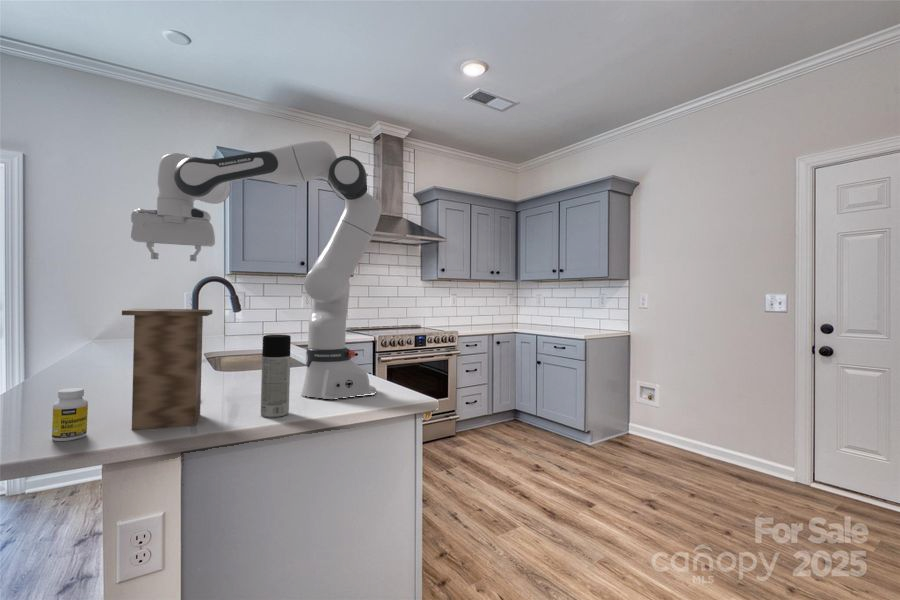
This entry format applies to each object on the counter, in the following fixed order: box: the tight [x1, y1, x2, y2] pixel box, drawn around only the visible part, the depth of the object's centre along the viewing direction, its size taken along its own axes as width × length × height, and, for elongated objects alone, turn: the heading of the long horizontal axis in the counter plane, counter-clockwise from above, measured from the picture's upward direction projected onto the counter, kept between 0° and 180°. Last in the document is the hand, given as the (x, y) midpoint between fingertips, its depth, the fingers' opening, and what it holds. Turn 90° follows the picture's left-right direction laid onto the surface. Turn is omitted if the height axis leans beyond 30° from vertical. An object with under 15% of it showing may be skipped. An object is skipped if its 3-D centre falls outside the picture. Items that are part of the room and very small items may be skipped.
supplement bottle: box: [51, 387, 89, 442], centre depth 89 cm, size 5×5×10 cm
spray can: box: [260, 334, 292, 419], centre depth 110 cm, size 7×7×20 cm
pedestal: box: [121, 308, 213, 431], centre depth 101 cm, size 16×11×26 cm
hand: (174, 260), depth 125 cm, fingers open, 8 cm apart
